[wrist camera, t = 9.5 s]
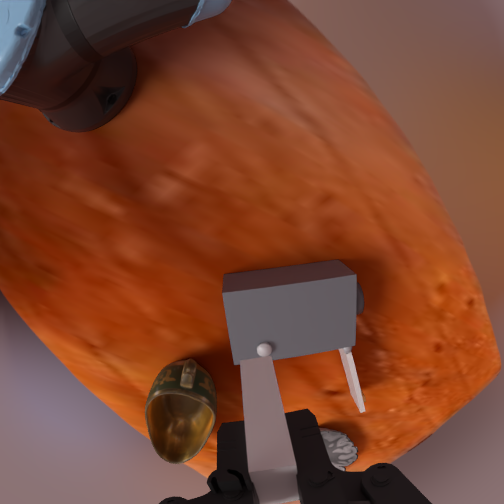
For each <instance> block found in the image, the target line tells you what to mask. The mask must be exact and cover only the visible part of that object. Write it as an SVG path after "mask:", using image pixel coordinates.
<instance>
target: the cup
mask: <svg viewBox="0 0 504 504" xmlns="http://www.w3.org/2000/svg"><path fill="white" fill-rule="evenodd" d="M216 412H217V397H216V389H215V385H214V382H213V380H212V378H211V376H210V374H209V373H208V372H207V371H206V370H205V369H204V368H203V367H202V366H200V365H199V364H198V363H196V361H195V360H193V359H188V360H180V361H176V362H173V363H171V364H169V365H167V366H166V367H164V368H163V369H162V370H161V372H160V373H159V374H158V376H157V377H156V379H155V381H154V383H153V385H152V388H151V390H150V392H149V395H148V398H147V402H146V406H145V419H146V424H147V428H148V432H149V436H150V439H151V442H152V445H153V447H154V449H155V451H156V452H157V454H158V455H159V456H160V457H161V458H162V459H164V460H165V461H167V462H169V463H173V464H180V463H184V462H186V461H188V460H190V459H192V458H193V457H194V456H196V455H197V454H198V453H199V452H200V450H201V449H202V448H203V446H204V445H205V443H206V442H207V440H208V438H209V436H210V434H211V432H212V430H213V427H214V424H215V421H216Z"/></svg>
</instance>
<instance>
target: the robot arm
mask: <svg viewBox="0 0 504 504" xmlns="http://www.w3.org/2000/svg"><path fill="white" fill-rule="evenodd" d="M231 1H232V0H0V100H5V101H9V102H13V103H17V104H21V105H25V106H29V107H33V108H37V109H39V110H40V111H41V112H42V113H43V115H44V116H45V117H46V119H47V120H48V121H49V122H50V123H51V124H53V125H54V126H56V127H58V128H60V129H63V130H67V131H71V132H86V131H90V130H94V129H96V128H98V127H100V126H102V125H104V124H105V123H107V122H108V121H110V120H111V119H112V118H113V117H114V116H116V115H117V114H118V113H119V111H120V110H121V109H122V108H123V107H124V105H125V104H126V102H127V101H128V99H129V97H130V95H131V93H132V91H133V88H134V86H135V82H136V77H137V63H136V59H135V56H134V54H133V52H132V50H131V49H130V47H129V46H131V45H134V44H136V43H138V42H141V41H143V40H146V39H148V38H151V37H154V36H156V35H159V34H162V33H164V32H167V31H170V30H173V29H176V28H179V27H182V28H186V27H189V26H190V25H192V24H193V23H195V22H198V21H201V20H204V19H207V18H210V17H213V16H216V15H218V14H220V13H222V12H223V11H224V10H225V9H226V8H227V7H228V6H229V4H230V3H231ZM240 369H241V383H242V396H243V410H244V421H236V422H228V423H222V425H221V427H220V428H219V430H218V432H217V470H215V471H213V472H212V473H211V475H210V476H209V477H208V480H207V484H208V486H209V488H210V490H211V491H210V492H208V493H207V494H205V495H203V496H200V497H197V498H194V499H190V500H186V499H184V498H182V497H169V498H166V499H164V500H163V501H161V502H160V503H159V504H279V503H285V502H291V501H297V500H300V503H301V504H432V503H431V502H430V501H429V500H428V499H427V498H426V497H425V496H424V495H423V494H422V493H421V492H420V491H419V490H418V489H417V488H416V487H415V486H414V485H413V484H412V483H411V482H410V481H409V480H408V479H407V478H406V477H405V476H404V475H403V474H402V473H401V471H399V469H398V468H396V467H395V466H393V465H392V464H388V463H377V464H375V465H372V466H370V467H369V468H368V469H366V470H365V471H363V472H347V471H343V470H340V469H338V468H336V467H335V466H334V465H333V464H332V463H331V461H330V458H329V455H328V452H327V449H326V446H325V444H324V441H323V438H322V435H321V432H320V429H319V427H318V423H317V420H316V417H315V415H314V414H313V413H311V412H310V411H309V410H308V409H303V410H298V411H294V412H288V413H284V409H283V405H282V401H281V396H280V392H279V388H278V383H277V379H276V374H275V370H274V366H273V361H272V357H271V356H266V357H260V358H254V359H248V360H241V361H240Z"/></svg>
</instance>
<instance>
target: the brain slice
mask: <svg viewBox="0 0 504 504" xmlns="http://www.w3.org/2000/svg"><path fill="white" fill-rule="evenodd" d="M319 429H320V432H321V435H322V438H323V441H324V444H325V446H326V449H327V452H328V455H329V458H330V461H331V463H332V464H333V465H334V466H335V467H336V468H338V469H340V470H343V471H345V470H346V468H345V467H343V466H348V465H350V464H352V463H353V462H354V461H355V460H356V459H357V458H358V455H357V454H356V453H357V452H358V449H357V447H355V446H353V445H354V443H353V442H352V441H351V440H350V439H349V438H348V436H347V435H346V434H345V433H342V432H339V431H336V430H329V429H327V428H319Z"/></svg>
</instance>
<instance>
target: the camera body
mask: <svg viewBox="0 0 504 504" xmlns="http://www.w3.org/2000/svg"><path fill="white" fill-rule="evenodd" d="M222 294H223V301H224V307H225V313H226V320H227V326H228V332H229V338H230V344H231V350H232V356H233V361H234V365H239V364H240V361H241V360H248V359H254V358H260V357H266V356H271V357H272V360H277V359H284V358H290V357H297V356H303V355H309V354H314V353H320V352H325V351H331V350H336V349H341V348H346V347H350V346H355V339H356V315H357V314H361V313H362V312H363V309H364V296H363V292H362V289H361V286H360V284H359V283H358V282H357V277H356V274H355V273H354V272H353V271H352V270H350V269H349V268H348V267H347V266H346V265H344V264H343V263H342V262H341V261H339V260H331V261H323V262H316V263H309V264H301V265H294V266H286V267H278V268H271V269H263V270H255V271H247V272H239V273H231V274H224V277H223V290H222Z"/></svg>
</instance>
